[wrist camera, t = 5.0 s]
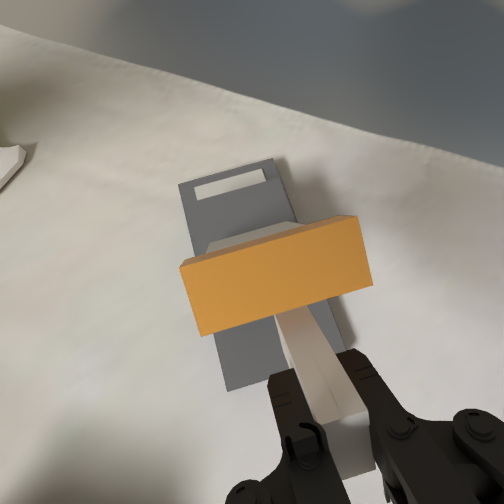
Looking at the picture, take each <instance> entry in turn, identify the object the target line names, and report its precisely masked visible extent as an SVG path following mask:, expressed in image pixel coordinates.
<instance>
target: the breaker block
mask: <svg viewBox="0 0 504 504" xmlns="http://www.w3.org/2000/svg"><path fill="white" fill-rule="evenodd" d="M178 187H179V191H180V195H181V199H182V204H183V208H184V212H185V216H186V220H187V225H188V229H189V233H190V237H191V241H192V246H193V250H194V254H195V257H196V256H199V255H203V254H205V253H206V251H207V248H208V246H209V243H211V242H215V241H218V240H222V239H225V238H229V237H232V236H236V235H239V234H243V233H246V232H250V231H253V230H257V229H260V228H264V227H267V226H271V225H274V224H278V223H281V222H285V221H288V222H294V223H298V222H297V220H296V217H295V214H294V212H293V209H292V207H291V204H290V201H289V199H288V196H287V194H286V191H285V188H284V186H283V183H282V180H281V178H280V175H279V173H278V170H277V167H276V165H275V162H274V159H273V158H271V159H268V160H264V161H260V162H257V163H253V164H250V165H246V166H242V167H239V168H235V169H232V170H228V171H224V172H221V173H217V174H213V175H210V176H206V177H203V178H199V179H195V180H192V181H188V182H185V183H181V184H178ZM307 307H308V309H309V310H310V312H311V314H312V315H313V317H314V319H315V321H316V322H317V324H318V326H319V327H320V329H321V331H322V333H323V334H324V336H325V338H326V339H327V341H328V343H329V344H330V346H331V348H332V350H333V351H334V353H335V354H337V353H341V352H344V351H346V348H345V345H344V343H343V340H342V338H341V335H340V332H339V330H338V327H337V325H336V322H335V319H334V317H333V314H332V311H331V309H330V306H329V304H328V301H327V299H325V300H322V301H319V302H315V303H312V304H309V305H307ZM213 334H214V338H215V343H216V347H217V351H218V355H219V359H220V364H221V368H222V372H223V376H224V380H225V385H226V389H227V392H229V391H232V390H235V389H239V388H242V387H245V386H248V385H252V384H255V383H258V382H261V381H264V380H268V379H269V376H270V375H271V374H274V373H278V372H281V371H284V370H287V369H290V368H289V366H288V363H287V360H286V358H285V355H284V352H283V349H282V345H281V341H280V337H279V333H278V329H277V325H276V321H275V317H274V315H272V316H269V317H265V318H262V319H259V320H255V321H252V322H249V323H245V324H242V325H239V326H235V327H232V328H229V329H225V330H222V331H219V332H215V333H213Z"/></svg>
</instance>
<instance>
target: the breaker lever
mask: <svg viewBox="0 0 504 504" xmlns="http://www.w3.org/2000/svg"><path fill="white" fill-rule="evenodd" d="M179 269H180V272H181V276H182V279H183V282H184V285H185V288H186V291H187V294H188V298H189V301H190V304H191V307H192V310H193V313H194V316H195V320H196V323H197V326H198V329H199V332H200V335H201V337H202V336H205V335H209V334H212V333H215V332H219V331H222V330H225V329H229V328H232V327H235V326H239V325H242V324H245V323H249V322H252V321H255V320H259V319H262V318H265V317H269V316H272V315H275V314H279V313H282V312H285V311H289V310H292V309H295V308H299V307H302V306H305V305H309V304H312V303H315V302H319V301H322V300H325V299H329V298H332V297H335V296H339V295H342V294H345V293H349V292H352V291H355V290H359V289H362V288H365V287H369V286H372V285H373V282H372V278H371V273H370V269H369V265H368V260H367V256H366V251H365V247H364V243H363V238H362V234H361V230H360V225H359V221H358V217H357V216H344V215H338V216H335V217H331V218H328V219H324V220H321V221H317V222H314V223H310V224H307V225H305V224H299V223H294V222H288V221H285V222H281V223H278V224H274V225H271V226H267V227H264V228H260V229H257V230H253V231H250V232H246V233H243V234H239V235H236V236H232V237H229V238H225V239H222V240H218V241H215V242H211V243H209V246H208V248H207V251H206V253H205V254H203V255H199V256H196V257H192V258H189V259H185V260H184V262H183V263H182V264H181V266H180V267H179Z"/></svg>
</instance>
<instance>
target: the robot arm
mask: <svg viewBox="0 0 504 504" xmlns="http://www.w3.org/2000/svg"><path fill="white" fill-rule="evenodd" d="M274 317H275V321H276V325H277V329H278V333H279V337H280V341H281V345H282V349H283V352H284V355H285V358H286V360H287V363H288V366H289V368H290V369H287V370H284V371H281V372H278V373H274V374H271V375H270V376H269V380H268V385H267V388H268V391H269V395H270V399H271V403H272V407H273V411H274V415H275V418H276V422H277V426H278V430H279V434H280V438H281V446H282V450H283V453H282V458H281V461H280V463H279V465H278V466H277V468H276V469H275V470H274V471H273V472H272V473H271V474H270V475H268V476H267V477H266V478H264V479H263V480H262V481H260V482H259V481H257V480H251V479H249V480H245V481H241V482H240V483H238V484H237V485H236V486H234V487H233V488H232V490H231V491H230V493H229V494H228V495H227V498H226V502H225V504H351V502H350V500H349V497H348V495H347V492H346V490H345V488H344V485H343V483H342V480H345V479H348V478H351V477H354V476H357V475H360V474H363V473H366V472H369V471H372V470H375V469H376V466H375V461H376V463H377V465H378V467H379V469H380V471H381V473H382V478H383V486H384V494H385V498H386V501H387V503H389V502H390V499H391V501H392V503H393V504H504V422H503V421H501V420H500V419H498V418H497V417H495V416H493V415H492V414H490V413H488V412H486V411H482V410H478V409H464V410H461V411H459V412H458V413H457V414H456V415H455V416H454V417H453V421H430V420H424V419H420V418H417V417H415V416H414V415H413V414H411V413H409V412H407V411H406V410H405V409H404V408H403V407H402V406H401V405H400V403H399V402H398V400H397V399H396V398H395V396H394V395H393V393H392V392H391V391H390V389H389V388H388V386H387V385H386V383H385V382H384V381H383V379H382V378H381V376H380V375H379V374H378V372H377V371H376V369H375V368H374V367H373V365H372V364H371V362H370V361H369V360H368V358H367V357H366V355H364V354H363V353H361V352H360V351H358V350H356V349H355V348H354V349H350V350H347V351H344V352H341V353H337V354H335V353H334V351H333V350H332V348H331V346H330V344H329V343H328V341H327V339H326V338H325V336H324V334H323V333H322V331H321V329H320V327H319V326H318V324H317V322H316V321H315V319H314V317H313V315H312V314H311V312H310V310H309V309H308V307H307V305H305V306H302V307H299V308H295V309H292V310H289V311H285V312H282V313H279V314H275V315H274Z"/></svg>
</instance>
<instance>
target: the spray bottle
mask: <svg viewBox="0 0 504 504" xmlns="http://www.w3.org/2000/svg"><path fill="white" fill-rule="evenodd" d="M26 153H27V152H26V151H25V150H24V149H23V148H22V147H20V146H19V145H16V146H12V147H0V189H1V188H2V187H3V186H4V184H5V183H6V182H7V181H8V180H9V179H10V178H11V177H12V176H13V175H14V174H15V172H16V171H17V170H18V169H19V168H20V167H21V166H22V165H23V162H24V159H25V156H26Z"/></svg>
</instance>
